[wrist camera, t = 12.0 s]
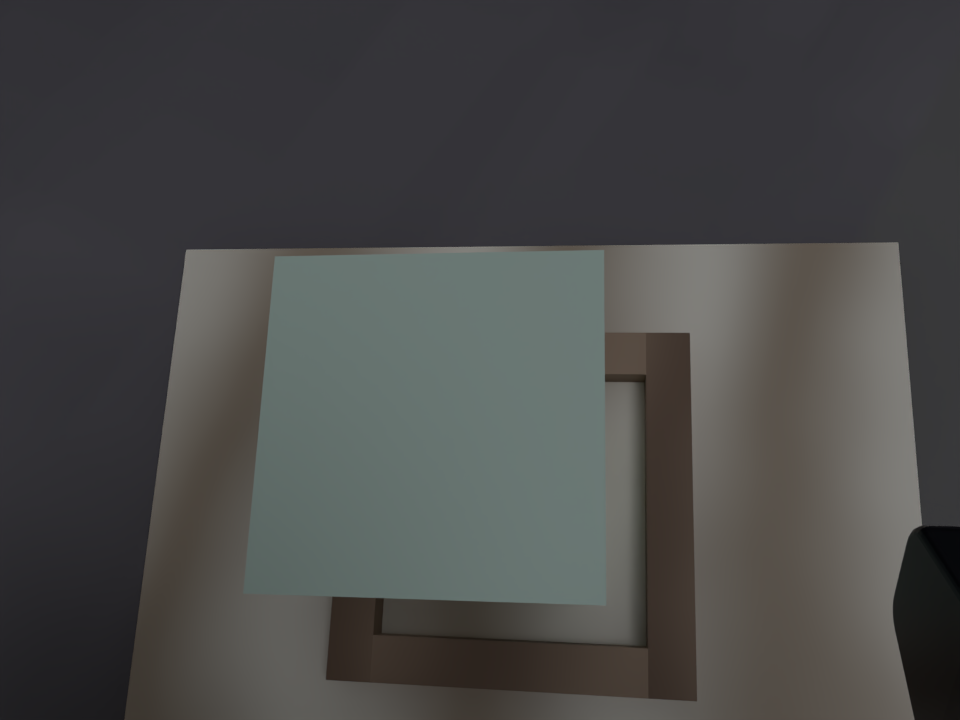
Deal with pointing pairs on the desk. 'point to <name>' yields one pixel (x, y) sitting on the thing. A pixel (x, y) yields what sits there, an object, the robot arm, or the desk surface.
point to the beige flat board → (629, 515)
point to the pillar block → (433, 429)
